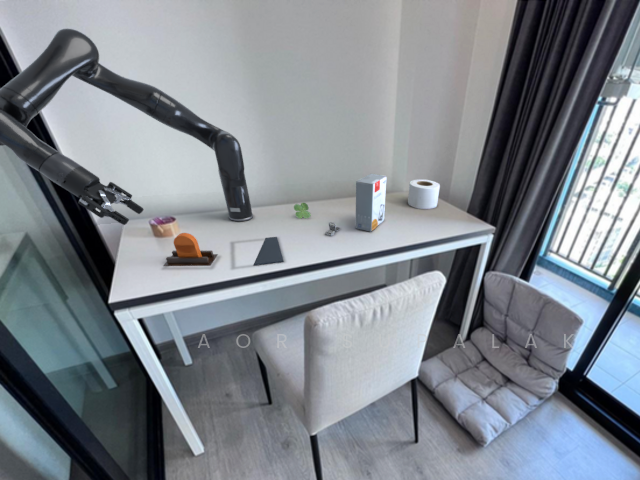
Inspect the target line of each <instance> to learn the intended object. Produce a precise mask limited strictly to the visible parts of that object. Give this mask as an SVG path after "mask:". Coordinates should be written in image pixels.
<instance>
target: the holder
mask: <svg viewBox="0 0 640 480" xmlns="http://www.w3.org/2000/svg"><path fill="white" fill-rule="evenodd" d="M200 251H201V255H202V257H178V254H177V251H176V250H172V251H171V254H172V255H171V256H166V257H165V260H166V262H165V263H164V264H163V265H162V266H163V267H210V266H212V264H213V263H214V261H215V260H216V258H217V257H218V255H219V254H218V253H214V251H213V250H200Z"/></svg>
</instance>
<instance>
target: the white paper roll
mask: <svg viewBox="0 0 640 480" xmlns="http://www.w3.org/2000/svg"><path fill="white" fill-rule="evenodd" d="M440 188H441V185H440V183H438V182H437V181H434V180H430V179H413V180H411V181H410V182H409V187H408V197H407V198H408V199H407V205H409V206H410V207H412V208H414V209H420V210H432V209H435V208H437V206H438V202H439V194H440Z"/></svg>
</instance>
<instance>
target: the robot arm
mask: <svg viewBox="0 0 640 480" xmlns="http://www.w3.org/2000/svg"><path fill="white" fill-rule="evenodd" d="M99 52H100V51H99V49H98V47H97V45H96V43H95V42H93V40H92V39H91V38H90V37H89V36H87V35H86V34H85V33H83V32H82V31H79V30H77V29H74V28H62V29H59V30H58V31H56V33H55V34H54V36H53V38H52V39H51V40H50V42H49V44H48V45H47V47H46V48H45V49H44V50H43V51H42V52H41V54H40V55H39V56H38V57H37V58H36V59H35V60H34V61H32V63H30V64H29V65H28V66H27V67H26V68H25V69H23V70H22V71H21V72H20V73H18V74H17V75H16V76H15V77H13V78H12V79H10V80H9V81H8V82H7V83H5V85H3V86H2V87H0V147H1V146H6V147H7V148H8V149H10V150H11V151H12V152H13V154H14V155H15V156H16V157H17V158H18V159H19V160H20V161H21V162H23V163H24V164H26V165H28V166H29V167H31V168H32V169H34V170H35V171H37V172H39V173H40V174H42V175H43V176H44V177H46V178H47V179H49V180H50V181H51V182H53V183H54V184H56V185H58V186H59V187H61V188H62V189H64V190H66V191H68V192H69V193H70V194H72V195H74V196H76V197H77V198H79V200H78V202H77V203H78V205H80V206H81V207H83V208H85V209H86V210H88V211H89V212H91V213H92V214H94V215H96V216H97V217H98V218H100V219H103V218H104V217H106V218H111V219H112V220H114V221H116V222H117V223H119V224H120V225H122V226H125V225H127V224H128V223H129V221H130V219H129V217H127V216H125V215H124V214H122V213H120V212H118V211H117V210H114V209H113V208H114V207H112V205H113V204H116V205H119V204H120V205H124V206H126V207H127V208H129V209H130V210H132V211H133V212H134V213H136V214H137V215H141V214H142V213H143V211H144V208H143V207H142V206H140V205H139V204H138V203H136V202H135V201H133V200H132V198H133V194H131V193H130V192H128V191H126V190H125V189H124V188H122V187H120V186H118V184H115V182H112V181H109V182H108V184H107V185H105V184H103V183H101V179H100V177H98V176H97V175H96V174H94V173H93V172H91V171H90V170H88V169H87V168H85V167H84V166H82V165H81V164H79V163H78V162H76V161H75V160H73V159H72V158H70V157H69V156H66V155H65V154H63V153H61V152H59V151H58V150H56V149H55V148H53V147H52V146H50V145H49V144H47V143H46V142H45V141H43V140H41V139H40V138H38V137H37V135H35V134H34V133H33V132H32V131H31V130H30V129H28V125H29V123H30V122H31V120H32V119H33V118H34V117H36V116H37V115H38V114H40V112H41V111H42V110H44V109H45V108H46V107H47V106H48V105H49V104H50V103H51V101H53V99H54V98H55V97H56V95H57V94H58V93H59V91H60V90H61V89H62V87H63V86H64V85H65V83H66V82H67V81H68V80H69V79H70V78H71V77H73V78H76V79H78V80H80V81H82V82H84V83H86V84H88V85H90V86H92V87H94V88H97V89H99V90H101V91H104V92H105V93H108V94H109V95H111V96H113V97H114V98H117V99H119V100H120V101H122V102H124V103H126V104H128V105H129V106H131V107H133V108H135V109H136V110H138V111H140V112H142V113H143V114H145V115H147V116H148V117H150V118H152V119H154V120H156V121H157V122H159V123H162V125H165V126H167V127H169V128H171V129H173V130H176V131H178V132H181V133H183V134H184V135H185V134H186V135H188V136H190V137H192V138H194V139H196V140H197V141H200V142H201V144H204V145H205V146H207V147H208V148H210V149H211V150H212V151H214V154H215V155H214V156H215V159H216V163H217V168H218V169H217V170H218V171H217V172H218V175H219V179H220V184H221V188H222V192H223V196H224V201H225V205H226V209H227V213H228V218H229V220H231V221H233V222H246V221H250V220H251V219H253V218H254V214H253V210H252V205H251V200H250V194H249V190H248V189H249V188H248V184H247V179H246V174H245V163H244V158H243V151H242V148H241V143H240V141H239V140H238V139H237V137H236V136H234V135H233V134H231V133H230V132H229V131H226V130H224V129H222V128H220V127H218V126H216V125H214V124H212V123H210V122H209V121H207V120H204V119H203V118H201V117H200V116H199V115H197V114H196V113H195V112H193V111H192V110H191V109H189V107H187V106H186V105H184V104H183V103H182V102H180V101H178V100H177V99H176V98H174V97H173V96H170V95H169V94H168V93H166V92H164V91H163V90H162V89H159V88H157V87H156V86H153V85H151V84H148V83H145V82H143V81H138V80H134V79H130V78H127V77H124V76H122V75H120V74H118V73H116V72H114V71H112V70H111V69H109V68H107V67H106V66H104V65H103V64H101V63H99V62H100V53H99ZM98 210H99V211H98Z"/></svg>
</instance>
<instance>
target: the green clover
mask: <svg viewBox="0 0 640 480" xmlns="http://www.w3.org/2000/svg"><path fill="white" fill-rule="evenodd" d="M309 208H310V207H309V205H308V203H306V202H301V203H300V204H298V203H296V204H294V205H293V210H294V211H296V212H295V214H294V215H295V217H296V218H297V219H302V218H303V219H309V218H310V217H311V216H312V214H311V212H310V211H308V210H309Z"/></svg>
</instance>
